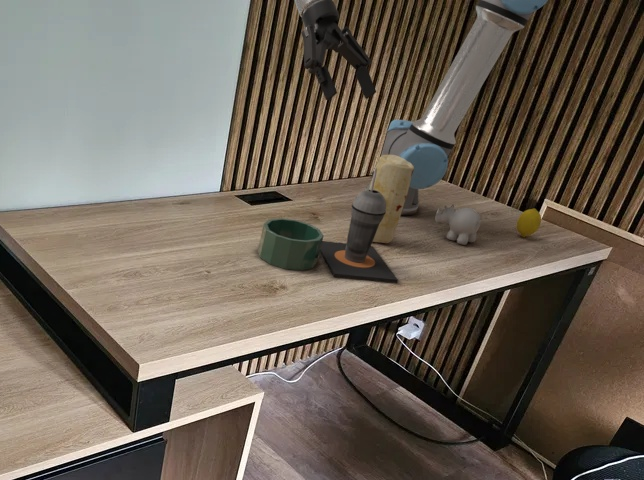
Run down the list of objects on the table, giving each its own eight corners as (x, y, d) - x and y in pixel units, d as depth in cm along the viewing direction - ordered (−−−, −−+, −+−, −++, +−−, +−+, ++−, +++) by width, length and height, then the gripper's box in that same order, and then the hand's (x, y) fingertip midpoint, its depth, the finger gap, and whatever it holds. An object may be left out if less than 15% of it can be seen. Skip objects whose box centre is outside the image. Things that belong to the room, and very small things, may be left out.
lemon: (535, 242, 182) (548, 213, 177) (514, 238, 182) (526, 209, 178) (530, 235, 186) (542, 207, 182) (509, 231, 187) (521, 203, 183)
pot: (254, 243, 155) (260, 215, 152) (308, 248, 156) (315, 221, 153) (263, 266, 144) (269, 238, 141) (321, 272, 146) (329, 244, 142)
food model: (397, 244, 167) (423, 162, 156) (381, 248, 163) (406, 165, 152) (365, 229, 173) (388, 150, 162) (348, 233, 169) (371, 152, 158)
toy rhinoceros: (440, 226, 182) (450, 195, 178) (478, 244, 174) (490, 212, 170) (423, 229, 178) (433, 198, 174) (461, 247, 170) (473, 215, 166)
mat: (314, 243, 160) (315, 239, 159) (371, 249, 161) (372, 245, 161) (333, 276, 145) (334, 273, 144) (396, 283, 146) (398, 279, 146)
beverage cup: (352, 266, 148) (378, 176, 138) (331, 253, 154) (355, 164, 143) (377, 264, 152) (404, 175, 141) (356, 250, 157) (381, 164, 147)
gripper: (289, -7, 142) (326, 86, 140) (364, 1, 157) (398, 85, 155) (266, 17, 148) (302, 107, 146) (340, 22, 163) (373, 103, 161)
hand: (351, 96), depth 151 cm, fingers open, 13 cm apart
